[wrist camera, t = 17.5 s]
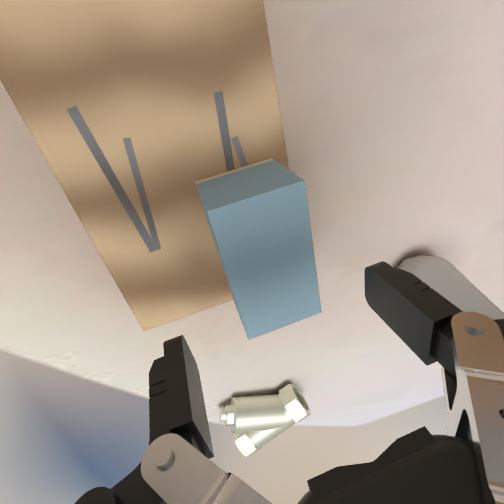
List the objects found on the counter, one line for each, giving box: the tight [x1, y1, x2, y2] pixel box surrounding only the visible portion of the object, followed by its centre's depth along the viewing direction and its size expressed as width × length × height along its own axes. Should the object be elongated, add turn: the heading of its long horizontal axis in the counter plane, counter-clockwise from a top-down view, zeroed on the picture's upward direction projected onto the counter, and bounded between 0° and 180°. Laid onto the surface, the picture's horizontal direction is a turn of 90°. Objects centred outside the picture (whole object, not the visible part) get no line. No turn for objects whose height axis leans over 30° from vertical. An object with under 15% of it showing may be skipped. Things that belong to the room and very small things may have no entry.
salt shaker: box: [396, 255, 504, 320], centre depth 26 cm, size 6×6×13 cm
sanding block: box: [195, 158, 322, 340], centre depth 19 cm, size 9×5×5 cm, turn 13°
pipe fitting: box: [220, 384, 311, 457], centre depth 33 cm, size 8×4×7 cm
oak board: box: [0, 0, 289, 331], centre depth 19 cm, size 20×13×2 cm, turn 13°
